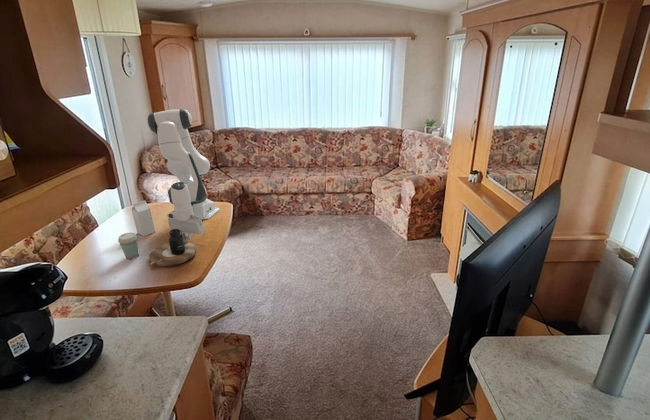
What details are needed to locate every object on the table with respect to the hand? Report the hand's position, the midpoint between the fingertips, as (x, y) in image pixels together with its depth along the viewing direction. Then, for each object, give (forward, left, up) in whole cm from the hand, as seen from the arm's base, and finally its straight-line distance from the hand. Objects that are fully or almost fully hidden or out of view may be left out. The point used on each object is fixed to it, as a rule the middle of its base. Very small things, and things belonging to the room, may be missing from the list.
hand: (188, 238), depth 189 cm
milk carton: (-5, -38, -6) cm, 39 cm away
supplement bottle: (+9, +1, -3) cm, 10 cm away
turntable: (+10, -2, -5) cm, 11 cm away
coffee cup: (+18, -22, -6) cm, 29 cm away
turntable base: (+12, -2, -6) cm, 14 cm away
